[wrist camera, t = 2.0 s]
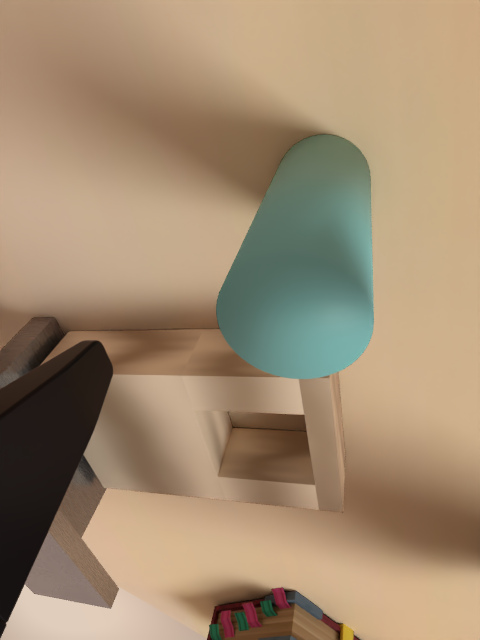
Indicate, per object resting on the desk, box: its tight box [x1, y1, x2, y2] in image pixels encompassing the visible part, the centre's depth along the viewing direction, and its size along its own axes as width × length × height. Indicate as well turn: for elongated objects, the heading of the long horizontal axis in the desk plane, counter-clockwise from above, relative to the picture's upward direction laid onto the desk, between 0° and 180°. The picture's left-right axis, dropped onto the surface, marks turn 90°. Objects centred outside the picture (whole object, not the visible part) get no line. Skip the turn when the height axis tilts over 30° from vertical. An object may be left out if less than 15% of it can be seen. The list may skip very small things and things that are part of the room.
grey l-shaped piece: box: [0, 318, 119, 608], centre depth 24 cm, size 5×13×10 cm, turn 12°
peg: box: [216, 134, 374, 379], centre depth 14 cm, size 4×4×9 cm
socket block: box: [41, 329, 345, 512], centre depth 25 cm, size 15×10×4 cm, turn 102°
